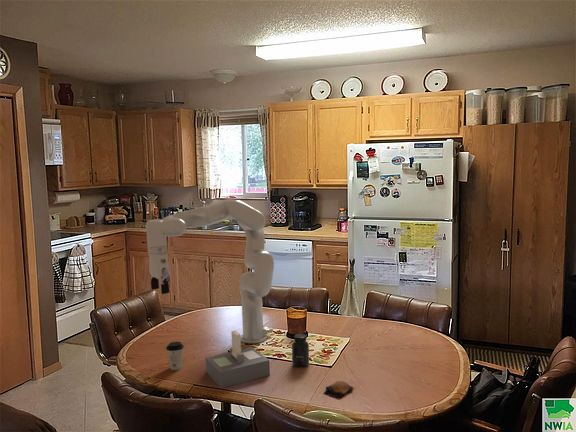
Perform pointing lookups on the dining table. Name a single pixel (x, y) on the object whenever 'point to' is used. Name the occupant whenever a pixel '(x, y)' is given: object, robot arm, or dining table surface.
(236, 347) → the switch lever
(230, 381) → the switch box
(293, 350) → the supplement bottle
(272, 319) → the dining table surface
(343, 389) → the bread roll
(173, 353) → the coffee cup
